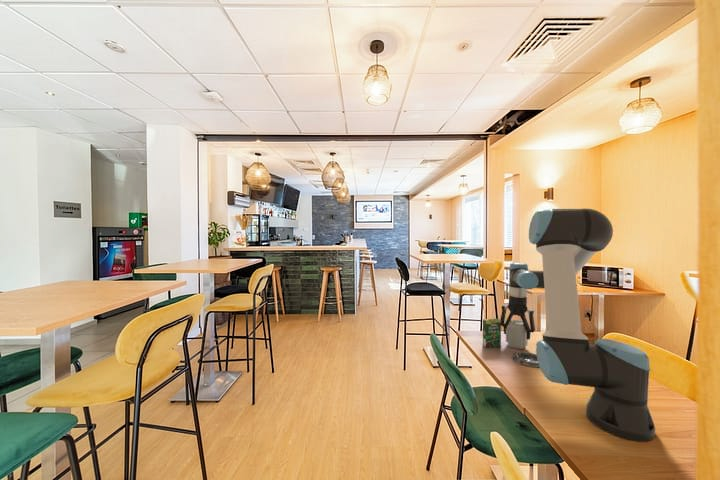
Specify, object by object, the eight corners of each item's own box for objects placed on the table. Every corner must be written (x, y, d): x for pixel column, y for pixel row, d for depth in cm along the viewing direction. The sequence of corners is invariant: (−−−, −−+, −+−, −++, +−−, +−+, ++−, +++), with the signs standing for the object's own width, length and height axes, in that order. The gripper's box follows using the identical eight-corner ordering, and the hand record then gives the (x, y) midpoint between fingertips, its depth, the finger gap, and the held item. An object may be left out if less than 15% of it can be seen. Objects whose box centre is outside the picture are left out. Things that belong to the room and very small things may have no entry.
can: (511, 342, 148) (512, 318, 147) (528, 347, 142) (528, 322, 142) (504, 346, 143) (505, 321, 143) (521, 351, 137) (522, 325, 137)
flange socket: (552, 369, 120) (552, 365, 120) (516, 365, 123) (516, 362, 123) (540, 355, 133) (540, 352, 133) (508, 352, 136) (508, 349, 135)
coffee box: (485, 348, 141) (485, 320, 140) (481, 345, 144) (482, 318, 143) (501, 347, 142) (501, 320, 141) (497, 345, 145) (498, 318, 144)
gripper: (544, 297, 137) (542, 346, 138) (498, 291, 151) (496, 335, 152) (540, 300, 132) (538, 351, 133) (492, 293, 146) (491, 339, 147)
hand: (516, 343), depth 143 cm, fingers closed on can, 7 cm apart
